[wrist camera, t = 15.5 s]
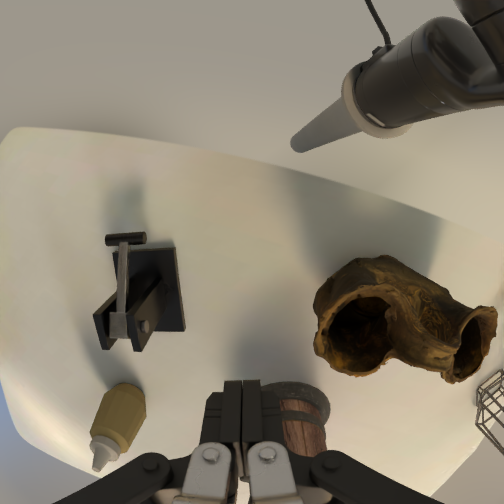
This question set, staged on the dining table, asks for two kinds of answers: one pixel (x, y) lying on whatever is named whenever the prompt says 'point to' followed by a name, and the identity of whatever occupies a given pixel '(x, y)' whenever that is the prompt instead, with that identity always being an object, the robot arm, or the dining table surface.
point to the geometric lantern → (480, 404)
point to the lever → (122, 280)
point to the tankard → (300, 419)
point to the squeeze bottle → (116, 423)
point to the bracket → (146, 298)
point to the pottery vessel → (398, 322)
